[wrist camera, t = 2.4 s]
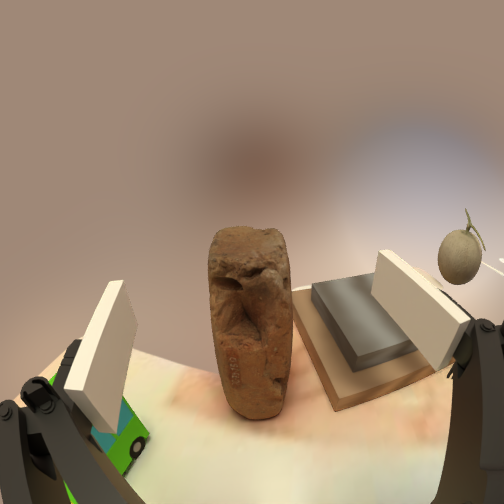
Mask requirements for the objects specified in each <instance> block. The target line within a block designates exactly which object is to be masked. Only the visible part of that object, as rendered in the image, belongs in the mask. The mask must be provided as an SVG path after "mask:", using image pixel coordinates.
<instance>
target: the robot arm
mask: <svg viewBox="0 0 504 504" xmlns="http://www.w3.org/2000/svg"><path fill="white" fill-rule="evenodd" d="M371 294H372V296H373V297H374V298H375V299H376V300H377V301H378V302H379V303H380V305H381V306H382V307H383V308H384V309H385V310H386V311H387V313H388V314H389V315H390V316H391V317H392V318H393V320H394V321H395V322H396V323H397V324H398V325H399V327H400V328H401V329H402V330H403V331H404V333H405V334H406V335H407V336H408V337H409V339H410V340H411V341H412V342H413V343H414V345H415V346H416V347H417V348H418V350H419V351H420V352H421V353H422V355H423V356H424V357H425V358H426V360H427V361H428V362H429V363H430V365H431V366H432V367H433V368H434V370H435V371H436V372H437V371H439V370H441V369H443V368H444V367H446V366H447V365H448V364H449V362H450V360H451V358H452V356H453V358H454V359H455V360H456V361H455V363H454V364H453V366H452V368H451V370H450V371H449V373H448V375H447V378H449V377H450V375H451V374H452V373H453V376H452V378H451V379H453V393H452V409H451V420H450V429H449V436H448V443H447V450H446V455H445V461H444V466H443V471H442V475H441V480H440V484H439V488H438V491H437V494H436V497H435V498H434V500H433V501H432V502H431V504H504V321H503V323H502V325H497V326H495V325H494V324H493V323H492V322H491V321H489V320H486V319H477V320H475V319H474V318H473V317H472V316H471V315H470V314H469V313H468V312H467V311H466V310H465V309H463V308H462V307H461V306H460V305H459V304H457V302H456V301H454V300H452V298H451V297H450V296H449V295H448V294H446V293H445V292H444V291H442V290H440V289H438V288H436V287H435V286H434V285H433V284H431V283H430V282H429V281H428V280H427V279H426V278H424V277H423V276H422V275H421V274H420V273H418V272H417V271H416V270H415V269H413V268H412V267H411V266H410V265H408V264H407V263H406V262H405V261H403V260H402V259H401V258H400V257H398V256H397V255H396V254H395V253H393V252H392V251H391V250H382V251H379V252H378V257H377V263H376V269H375V274H374V280H373V285H372V290H371ZM137 326H138V323H137V320H136V318H135V315H134V312H133V309H132V306H131V302H130V299H129V296H128V293H127V289H126V286H125V283H124V280H119V281H110V282H109V284H108V286H107V288H106V290H105V292H104V294H103V296H102V298H101V300H100V302H99V304H98V306H97V308H96V311H95V313H94V315H93V317H92V319H91V321H90V324H89V326H88V328H87V330H86V333H85V335H84V337H83V340H74V341H73V343H72V344H71V345H70V346H69V347H68V348H67V350H66V353H65V355H64V359H62V362H61V366H60V367H59V369H58V372H57V374H56V377H55V379H54V382H53V384H52V386H51V384H50V383H49V382H48V380H47V379H46V378H44V377H34V378H31V379H30V380H28V381H27V382H26V383H25V384H24V386H23V387H22V390H21V393H20V394H21V399H22V401H23V402H24V403H25V404H26V405H27V406H28V407H23V408H19V406H18V405H17V404H16V403H15V402H14V401H12V400H5V401H3V402H1V403H0V489H1V494H2V499H3V504H71V502H70V499H69V496H68V493H67V490H66V487H65V484H64V482H65V483H66V485H67V487H68V489H69V490H70V492H71V494H72V495H73V497H74V499H75V500H76V502H77V503H78V504H146V503H145V502H144V501H143V500H142V499H141V498H140V497H139V496H138V494H137V493H136V492H135V491H134V490H133V489H132V487H131V486H130V485H129V484H128V483H127V481H126V480H125V479H124V478H123V476H122V475H121V474H120V473H119V471H118V470H117V469H116V467H115V466H114V465H113V463H112V462H111V461H110V459H109V458H108V456H107V455H106V454H105V452H104V451H103V449H102V448H101V446H100V445H99V443H98V442H97V440H96V439H95V437H94V436H93V435H92V434H91V429H92V425H93V426H94V427H95V428H96V429H97V430H98V432H102V433H113V434H117V426H118V420H119V413H120V407H121V401H122V396H123V390H124V385H125V380H126V375H127V370H128V365H129V360H130V356H131V351H132V347H133V343H134V338H135V334H136V330H137Z"/></svg>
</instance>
